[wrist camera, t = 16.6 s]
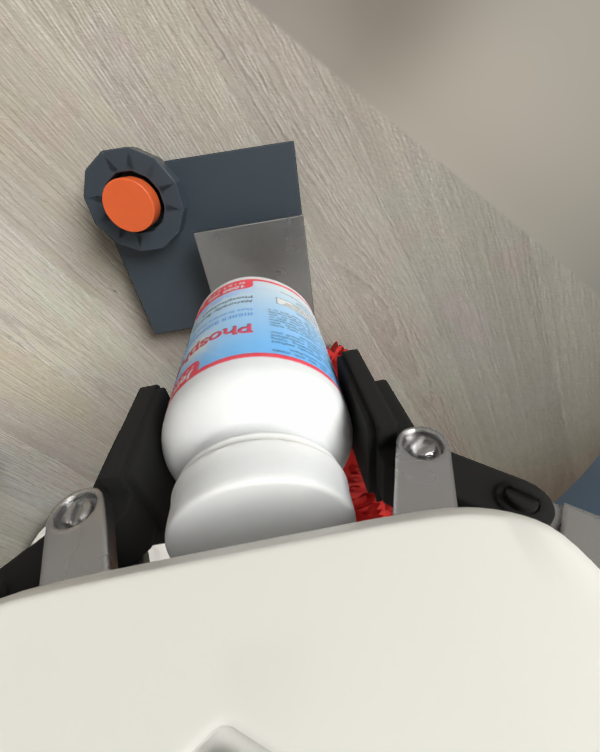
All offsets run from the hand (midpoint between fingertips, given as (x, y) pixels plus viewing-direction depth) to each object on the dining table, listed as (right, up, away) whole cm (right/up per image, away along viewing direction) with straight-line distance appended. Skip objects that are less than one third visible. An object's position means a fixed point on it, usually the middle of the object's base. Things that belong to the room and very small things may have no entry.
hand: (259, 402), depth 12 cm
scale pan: (-2, +9, +13) cm, 15 cm away
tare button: (-9, +12, +9) cm, 18 cm away
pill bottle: (-1, +3, +5) cm, 6 cm away
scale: (-5, +12, +14) cm, 19 cm away
